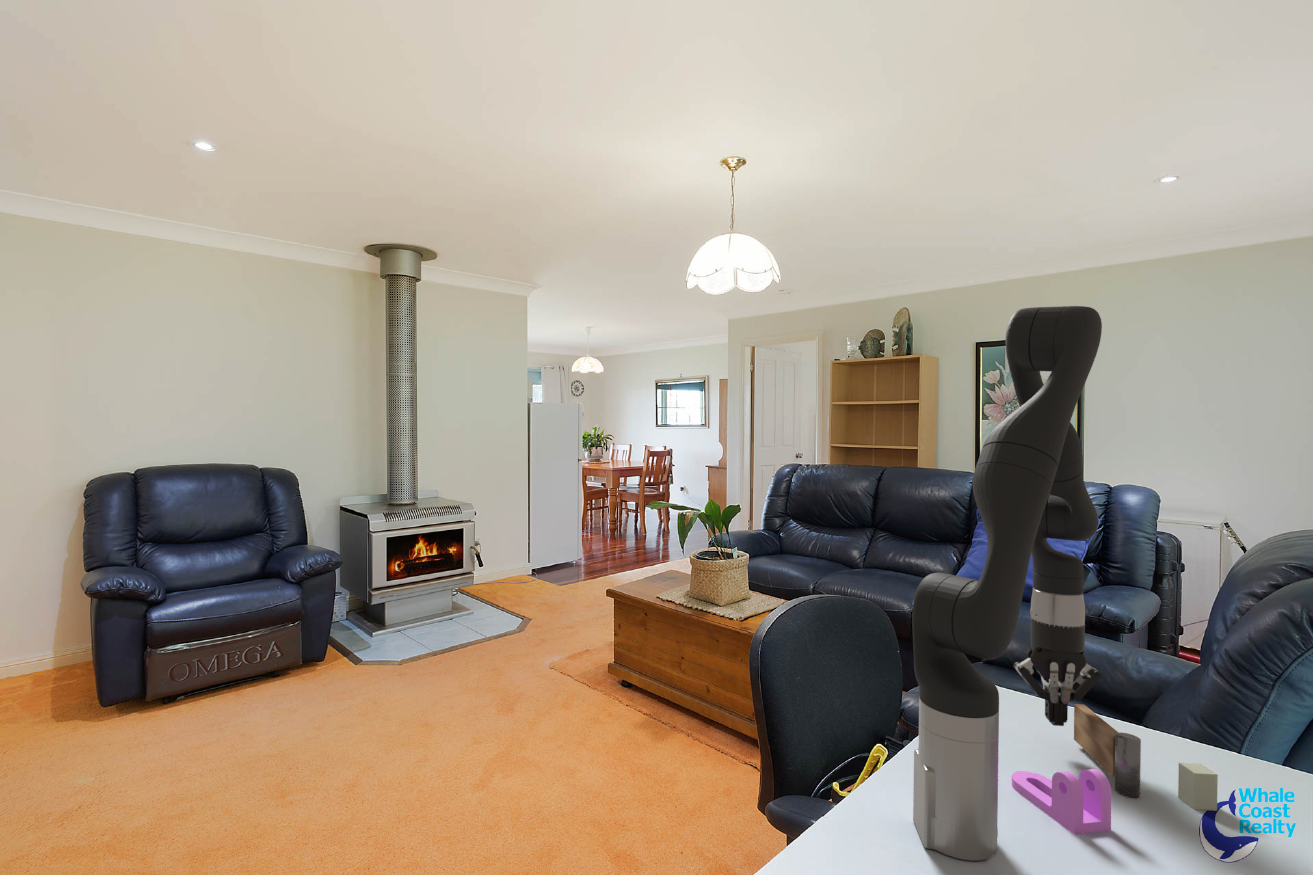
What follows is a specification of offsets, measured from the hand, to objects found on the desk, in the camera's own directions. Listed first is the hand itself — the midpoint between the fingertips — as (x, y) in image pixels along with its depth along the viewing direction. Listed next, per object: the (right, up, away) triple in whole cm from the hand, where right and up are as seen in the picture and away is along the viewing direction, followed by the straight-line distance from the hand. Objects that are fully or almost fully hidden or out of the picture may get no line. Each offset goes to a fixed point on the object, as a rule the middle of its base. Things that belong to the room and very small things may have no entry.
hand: (1056, 723), depth 105 cm
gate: (+4, -4, -4) cm, 7 cm away
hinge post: (+3, -5, -12) cm, 13 cm away
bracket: (-10, -5, -15) cm, 19 cm away
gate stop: (+11, -5, -15) cm, 19 cm away
